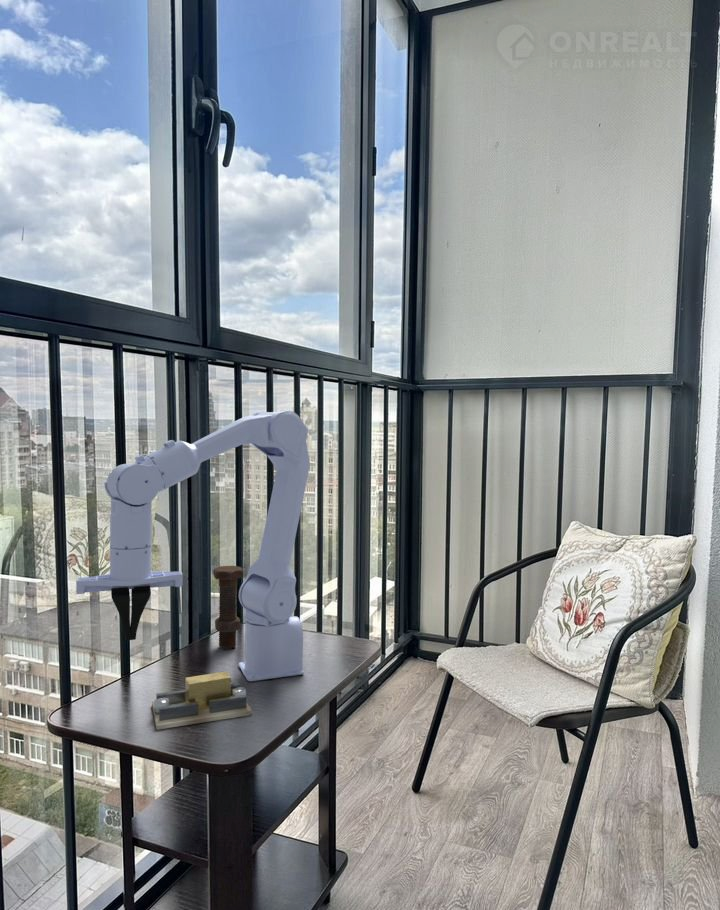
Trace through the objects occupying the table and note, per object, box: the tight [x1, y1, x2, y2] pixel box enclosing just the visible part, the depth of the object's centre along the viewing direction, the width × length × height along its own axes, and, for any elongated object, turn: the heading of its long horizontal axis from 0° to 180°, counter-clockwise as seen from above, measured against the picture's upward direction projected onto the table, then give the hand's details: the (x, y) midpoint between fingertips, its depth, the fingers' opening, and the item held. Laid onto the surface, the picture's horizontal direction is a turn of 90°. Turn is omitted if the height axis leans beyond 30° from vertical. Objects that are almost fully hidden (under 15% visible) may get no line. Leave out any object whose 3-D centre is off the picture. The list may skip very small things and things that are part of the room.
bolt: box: [213, 565, 244, 651], centre depth 117 cm, size 6×5×15 cm
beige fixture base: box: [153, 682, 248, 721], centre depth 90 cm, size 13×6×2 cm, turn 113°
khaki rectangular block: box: [184, 671, 232, 710], centre depth 90 cm, size 6×3×4 cm, turn 117°
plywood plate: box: [151, 696, 253, 730], centre depth 90 cm, size 13×8×1 cm, turn 112°
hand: (130, 638), depth 91 cm, fingers closed
